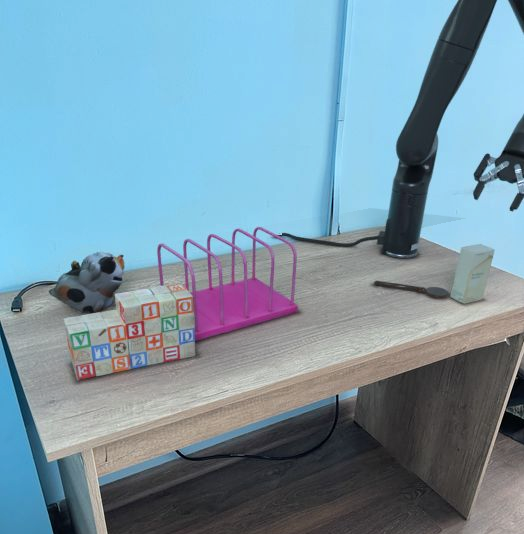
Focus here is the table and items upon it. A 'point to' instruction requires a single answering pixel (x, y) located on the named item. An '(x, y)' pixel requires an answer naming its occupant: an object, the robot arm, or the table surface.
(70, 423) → the table surface
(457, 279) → the cosmetic box
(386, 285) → the spoon
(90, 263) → the lucky cat figurine
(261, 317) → the file sorter
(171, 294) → the stack of blocks
